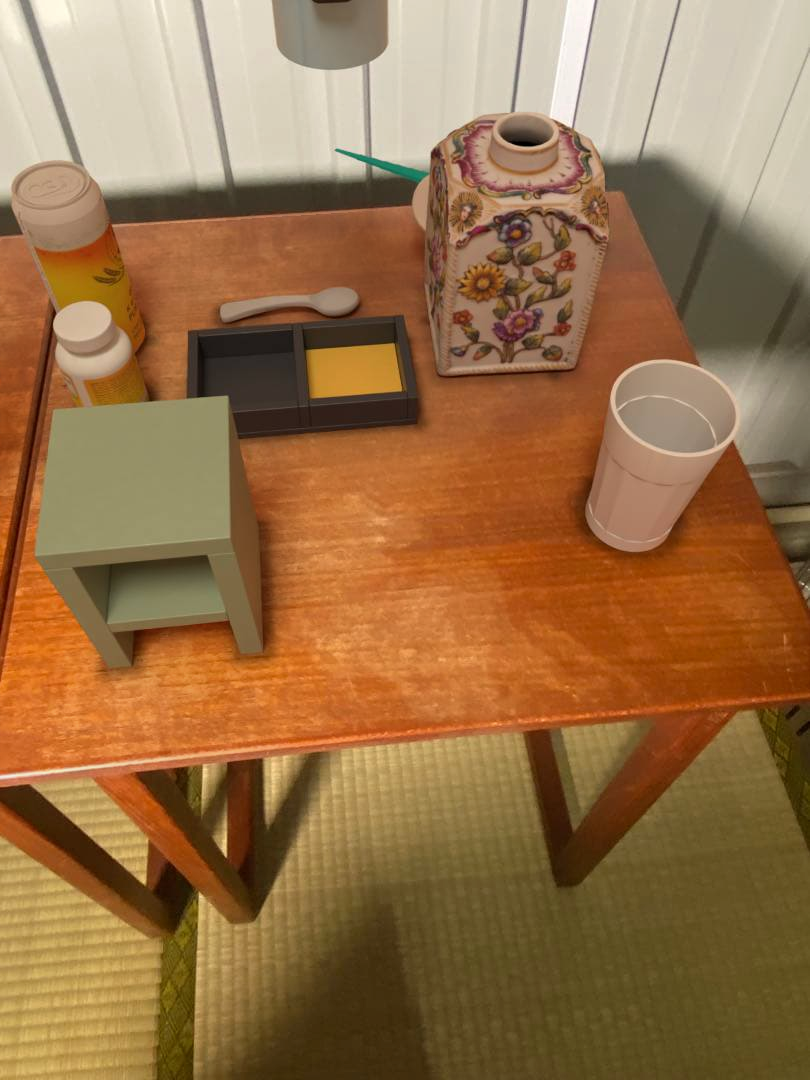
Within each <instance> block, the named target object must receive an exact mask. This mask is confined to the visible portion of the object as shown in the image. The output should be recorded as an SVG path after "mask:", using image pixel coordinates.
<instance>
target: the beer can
mask: <svg viewBox="0 0 810 1080" xmlns="http://www.w3.org/2000/svg"><path fill="white" fill-rule="evenodd" d="M10 186H11V188H10V190H11V202H10V206H11V210H12V212H13V214H14V216H15V219H16V221H17V223H18V226H19V228H20V230H21V233H22V236H23V238H24V240H25V242H26V245H27V247H28V249H29V252H30V254H31V256H32V259H33V261H34V264H35V266H36V269H37V270H38V273H39V275H40V278H41V280H42V282H43V284H44V287H45V289H46V292H47V294H48V296H49V300H50V301H51V303H52V305H53V308H54V310H55V312H56V315H57V314H58V313H59V312H60V311H61V310H62V309H63V308H65V307H66V306H69V305H71V304H73V303H77V302H82V301H93V302H97V303H100V304H102V305H104V306H105V307H107V308H108V310H109V311H110V313H111V315H112V317H113V320H114V322H115V325H116V326H118V327H119V328H121V329H122V330H123V331H124V332H125V333H126V334H127V336H128V337H129V339H130V341H131V344H132V347H133V350H134V353H135V354H136V353H137V351H138V350H139V348H140V347H141V345H142V343H143V342H144V339H145V336H146V329H145V325H144V322H143V318H142V316H141V312H140V310H139V306H138V303H137V300H136V297H135V295H134V294H135V293H134V291H133V288H132V285H131V281H130V278H129V276H128V272H127V269H126V265H125V262H124V260H123V256H122V252H121V250H120V247H119V244H118V240H117V238H116V234H115V231H114V228H113V225H112V222H111V219H110V215H109V212H108V209H107V207H106V203H105V200H104V196H103V193H102V190H101V187H100V185H99V184H98V182H97V181H96V180H95V179H94V178H93V177H92V176H91V175H90V173H89V171H88V170H87V169H86V168H85V167H84V166H82V165H81V164H78V163H76V162H73V161H70V160H63V159H61V160H59V159H58V160H45V161H42V162H41V161H40V162H38V163H36V164H32V165H30V166H28V167H26V168H24V169H23V170H21V171H20V172H19V173H18V174H17V175H16V176H15V177H14V179H12V183H11V185H10Z"/></svg>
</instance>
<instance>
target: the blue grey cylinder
mask: <svg viewBox="0 0 810 1080" xmlns="http://www.w3.org/2000/svg"><path fill="white" fill-rule="evenodd" d="M270 3H271V12H272V20H273V21H272V22H273V28H274V36H275V44H276V47H277V49H278V51H279V52H280V54H281V55H282V56H283V57H284V58H285V59H287V60H288V61H291V62H292V63H294V64H296V65H299V66H301V67H305V68H310V69H314V70H315V69H316V70H324V71H338V70H340V71H341V70H347V69H354V68H357V67H360V66H363V65H366V64H368V63H371V62H373V61H374V60H376V59H377V58H379V57H381V55H382V54H384V53H385V51H386V49H387V48H388V45H389V43H390V42H389V41H390V0H351V1H349V2H342V3H322V4H318V3H315V2H314V1H312V0H270Z"/></svg>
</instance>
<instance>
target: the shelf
mask: <svg viewBox="0 0 810 1080" xmlns="http://www.w3.org/2000/svg"><path fill="white" fill-rule="evenodd" d="M51 416H52V417H51V423H50V431H49V438H48V445H47V454H46V461H45V469H44V475H43V477H44V478H43V484H42V490H41V491H42V493H41V499H40V507H39V513H38V514H39V515H38V523H37V528H36V529H37V531H36V537H35V545H34V551H33V552H34V553H33V556H34V558H35V560H36V561H37V563H38V564H39V565H40V567H41V569H42V570H43V572H44V574H45V575H46V577H47V578H48V580H49V581H50V583H51V584H52V586H53V587H54V588H55V590H56V591H57V593H58V594H59V596H60V598H61V599H62V600H63V602H64V603H65V605H66V606H67V608H68V609H69V611H70V612H71V614H72V615H73V617H74V618H75V620H76V621H77V623H78V624H79V626H80V627H81V629H82V630H83V632H84V633H85V635H86V636H87V638H88V639H89V641H90V642H91V644H92V645H93V647H94V648H95V650H96V652H97V653H98V654H99V656H100V657H101V659H102V660H103V662H104V664H105V665H106V666H107V668H108V669H109V670H110V669H111V670H112V669H121V668H129V667H130V668H131V667H133V659H134V658H133V657H134V641H135V631H140V630H141V631H143V630H149V629H150V630H151V629H162V628H170V627H171V628H172V627H182V626H189V625H190V626H191V625H199V624H201V625H202V624H209V623H218V622H228V621H229V624H230V627H231V629H232V633H233V636H234V638H235V642H236V645H237V647H238V650H239V654H240V656H241V655H242V656H244V655H245V656H246V655H254V654H260V653H261V654H262V653H264V630H263V626H264V625H263V603H262V602H263V601H262V600H263V599H262V577H261V575H262V574H261V573H262V572H261V550H260V549H261V547H260V527H259V522H258V518H257V514H256V510H255V509H256V508H255V506H254V501H253V497H252V491H251V488H250V483H249V479H248V475H247V471H246V470H247V469H246V466H245V461H244V457H243V453H242V449H241V443H240V439H238V435H237V431H236V427H235V422H234V418H233V414H232V409H231V405H230V401H229V397H228V396H215V397H202V398H190V399H187V398H180V399H179V398H177V399H167V400H165V399H164V400H153V401H150V402H140V403H127V404H115V405H102V406H90V407H65V408H54V409H53V410H52V415H51Z"/></svg>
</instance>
